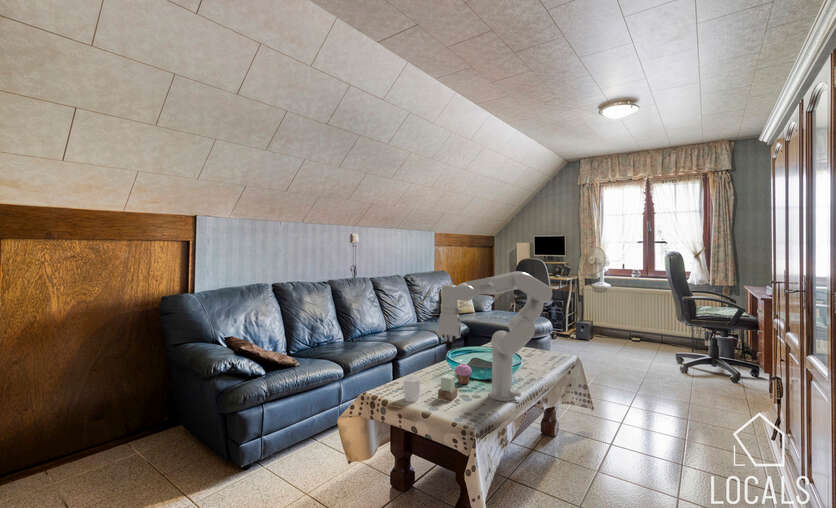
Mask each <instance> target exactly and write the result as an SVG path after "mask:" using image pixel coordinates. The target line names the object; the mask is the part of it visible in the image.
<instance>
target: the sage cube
mask: <svg viewBox="0 0 836 508" xmlns="http://www.w3.org/2000/svg"><path fill="white" fill-rule="evenodd" d="M455 386H456V375H453V374H451V375H450V374H444V375H442V376H441V377H440V388H441V390H444V391H449V392H451V391H452V390H454V389H455V388H456V387H455Z"/></svg>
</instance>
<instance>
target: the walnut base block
mask: <svg viewBox="0 0 836 508" xmlns="http://www.w3.org/2000/svg"><path fill="white" fill-rule="evenodd" d="M457 396H458V388H457V387H455V389H454V390H452V391H451V392H449V391H444V390H441V387H440V388H439V389H437V398H438V399H442V400H441V401H443V400H447V401H446V402H448V401H453V400H454V399H455V398H456V397H457ZM438 399H437V400H438Z"/></svg>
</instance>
